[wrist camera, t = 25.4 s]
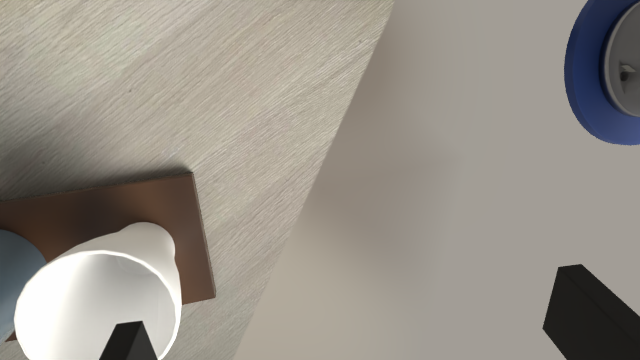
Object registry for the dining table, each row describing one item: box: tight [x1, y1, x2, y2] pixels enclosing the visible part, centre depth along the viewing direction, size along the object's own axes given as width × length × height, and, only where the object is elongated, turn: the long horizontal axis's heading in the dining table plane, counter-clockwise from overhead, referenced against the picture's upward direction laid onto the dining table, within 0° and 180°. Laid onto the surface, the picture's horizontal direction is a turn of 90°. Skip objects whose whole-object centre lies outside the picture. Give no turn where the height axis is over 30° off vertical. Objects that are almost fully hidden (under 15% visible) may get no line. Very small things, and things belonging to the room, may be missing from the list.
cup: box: [14, 222, 182, 360], centre depth 33 cm, size 10×10×14 cm
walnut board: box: [0, 173, 216, 342], centre depth 38 cm, size 37×14×2 cm, turn 97°
